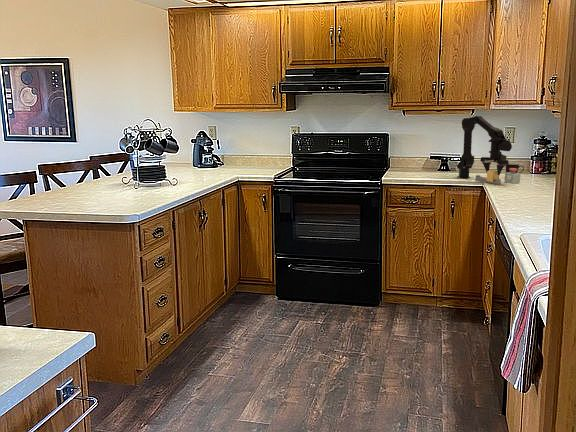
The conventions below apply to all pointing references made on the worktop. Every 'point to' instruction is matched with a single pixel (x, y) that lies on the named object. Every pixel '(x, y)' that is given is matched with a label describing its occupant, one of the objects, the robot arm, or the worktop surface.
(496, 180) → the rail
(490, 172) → the carriage
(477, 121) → the robot arm
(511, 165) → the coffee mug
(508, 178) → the grey block
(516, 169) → the plunger
